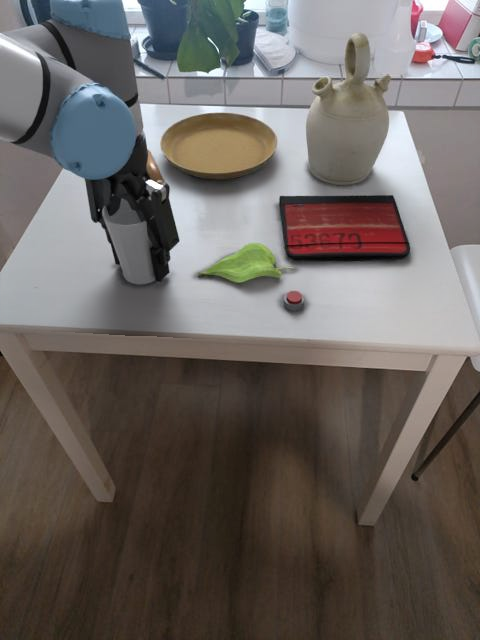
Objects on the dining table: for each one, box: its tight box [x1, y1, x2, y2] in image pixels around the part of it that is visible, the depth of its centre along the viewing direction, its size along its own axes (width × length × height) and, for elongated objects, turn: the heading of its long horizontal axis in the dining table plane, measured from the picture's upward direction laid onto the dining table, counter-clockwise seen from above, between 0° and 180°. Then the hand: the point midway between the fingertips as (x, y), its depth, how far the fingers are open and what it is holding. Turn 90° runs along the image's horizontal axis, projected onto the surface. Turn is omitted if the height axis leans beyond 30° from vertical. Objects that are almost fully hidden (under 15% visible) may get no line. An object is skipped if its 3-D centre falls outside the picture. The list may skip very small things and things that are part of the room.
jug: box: [305, 32, 392, 186], centre depth 90 cm, size 15×16×25 cm
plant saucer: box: [160, 112, 278, 180], centre depth 102 cm, size 24×24×3 cm
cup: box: [102, 196, 156, 285], centre depth 75 cm, size 8×8×12 cm
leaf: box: [197, 242, 295, 284], centre depth 79 cm, size 9×16×2 cm, turn 92°
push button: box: [283, 290, 305, 311], centre depth 74 cm, size 3×3×2 cm
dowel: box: [147, 148, 165, 185], centre depth 97 cm, size 14×2×2 cm, turn 20°
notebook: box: [278, 194, 411, 262], centre depth 85 cm, size 16×2×21 cm
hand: (142, 267), depth 79 cm, fingers closed on cup, 7 cm apart
